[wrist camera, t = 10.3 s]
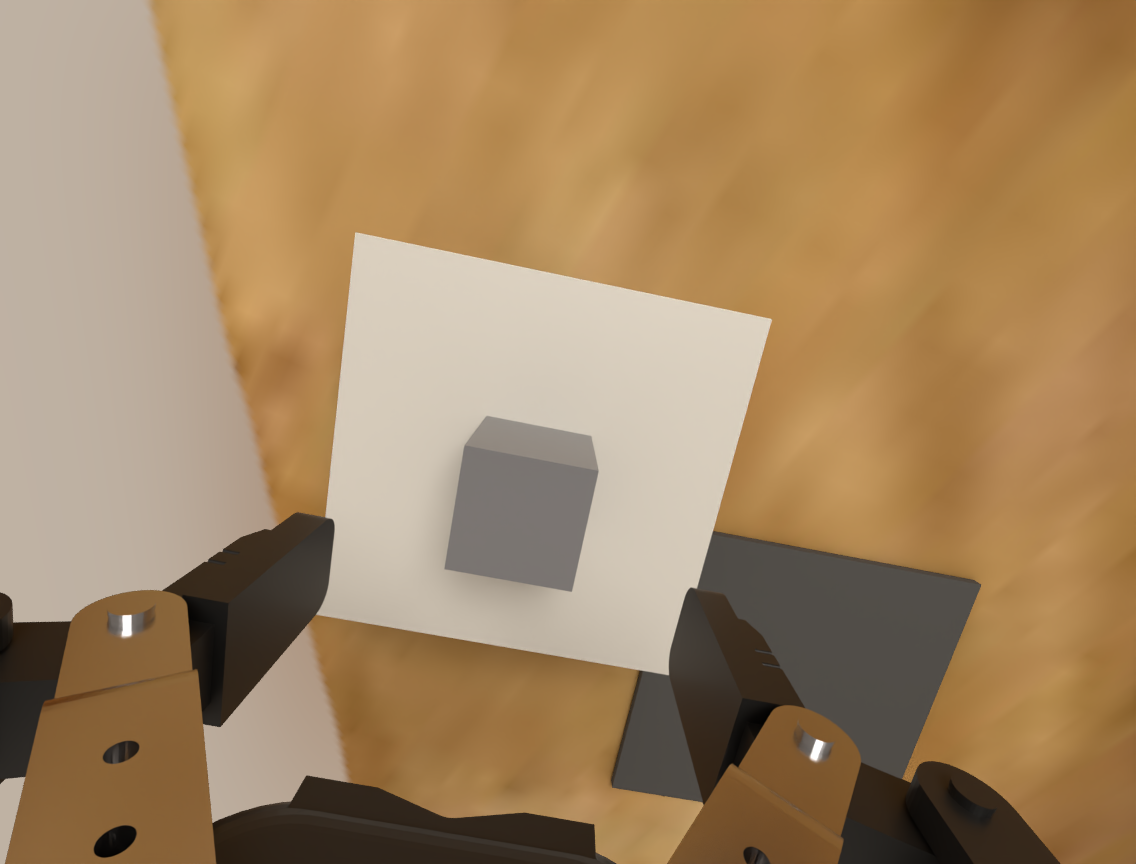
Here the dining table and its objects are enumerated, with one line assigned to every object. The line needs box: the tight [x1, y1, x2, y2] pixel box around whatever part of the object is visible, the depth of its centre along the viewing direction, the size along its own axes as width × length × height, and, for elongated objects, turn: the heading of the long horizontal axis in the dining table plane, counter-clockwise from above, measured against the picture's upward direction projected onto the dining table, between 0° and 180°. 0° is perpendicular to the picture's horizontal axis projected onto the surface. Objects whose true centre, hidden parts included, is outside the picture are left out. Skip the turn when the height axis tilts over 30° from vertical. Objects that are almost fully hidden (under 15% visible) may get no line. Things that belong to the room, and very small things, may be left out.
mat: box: [611, 531, 981, 802], centre depth 29 cm, size 16×16×1 cm
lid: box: [316, 232, 772, 675], centre depth 18 cm, size 15×15×5 cm
